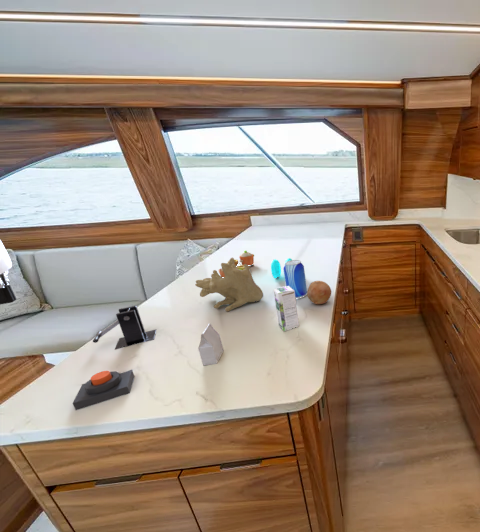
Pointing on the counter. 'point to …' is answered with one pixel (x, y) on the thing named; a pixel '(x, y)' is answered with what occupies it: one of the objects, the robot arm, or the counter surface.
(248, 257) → the toy tea set
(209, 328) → the pale grey crystal
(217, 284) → the decorative coral
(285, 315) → the syrup box
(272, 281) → the counter surface
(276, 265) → the cyan lobed shape
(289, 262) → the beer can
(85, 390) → the control block
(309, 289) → the coconut
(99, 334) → the lever
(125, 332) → the bracket
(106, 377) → the button
